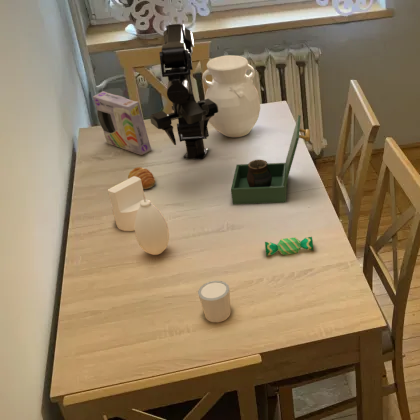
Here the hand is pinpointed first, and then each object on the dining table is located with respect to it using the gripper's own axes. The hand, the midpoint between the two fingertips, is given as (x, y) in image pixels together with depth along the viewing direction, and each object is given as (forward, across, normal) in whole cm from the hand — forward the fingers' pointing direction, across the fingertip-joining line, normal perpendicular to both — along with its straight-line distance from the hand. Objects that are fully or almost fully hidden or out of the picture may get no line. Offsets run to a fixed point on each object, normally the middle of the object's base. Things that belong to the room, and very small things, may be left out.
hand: (189, 140), depth 193 cm
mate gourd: (+12, +12, -19) cm, 25 cm away
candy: (+14, +2, -50) cm, 52 cm away
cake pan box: (+13, -8, +34) cm, 37 cm away
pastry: (+13, -13, +8) cm, 20 cm away
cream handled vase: (+13, +26, +21) cm, 36 cm away
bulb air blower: (+14, -25, -29) cm, 40 cm away
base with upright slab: (+13, -24, -11) cm, 30 cm away
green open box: (+13, +12, -19) cm, 26 cm away
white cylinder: (+14, -24, -60) cm, 66 cm away
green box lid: (0, +20, -25) cm, 31 cm away
